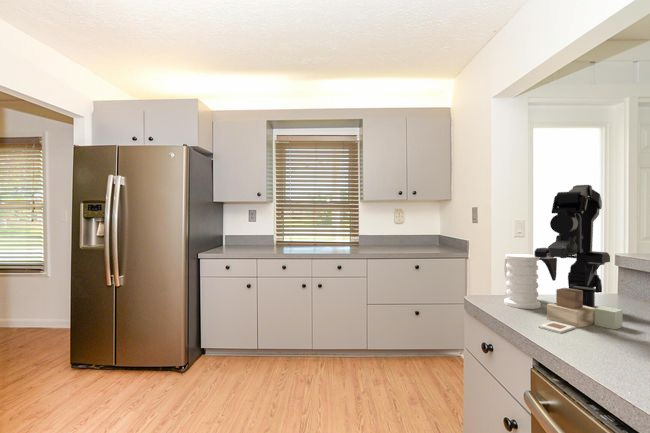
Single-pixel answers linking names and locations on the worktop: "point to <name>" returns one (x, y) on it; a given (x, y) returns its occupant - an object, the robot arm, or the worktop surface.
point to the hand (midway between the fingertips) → (569, 282)
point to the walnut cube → (569, 298)
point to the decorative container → (522, 281)
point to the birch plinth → (571, 315)
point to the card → (556, 327)
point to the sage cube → (608, 317)
